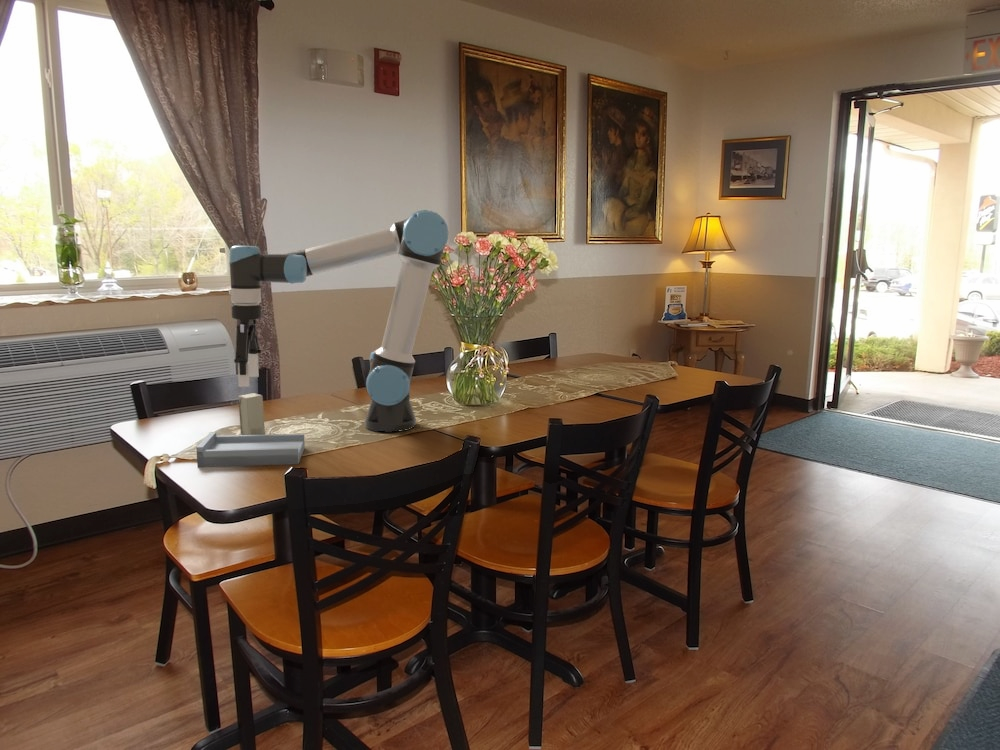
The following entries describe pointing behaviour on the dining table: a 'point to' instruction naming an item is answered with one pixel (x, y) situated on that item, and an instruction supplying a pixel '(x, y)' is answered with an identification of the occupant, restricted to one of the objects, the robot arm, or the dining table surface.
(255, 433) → the box
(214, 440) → the blue-grey tray
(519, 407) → the dining table surface
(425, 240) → the robot arm
